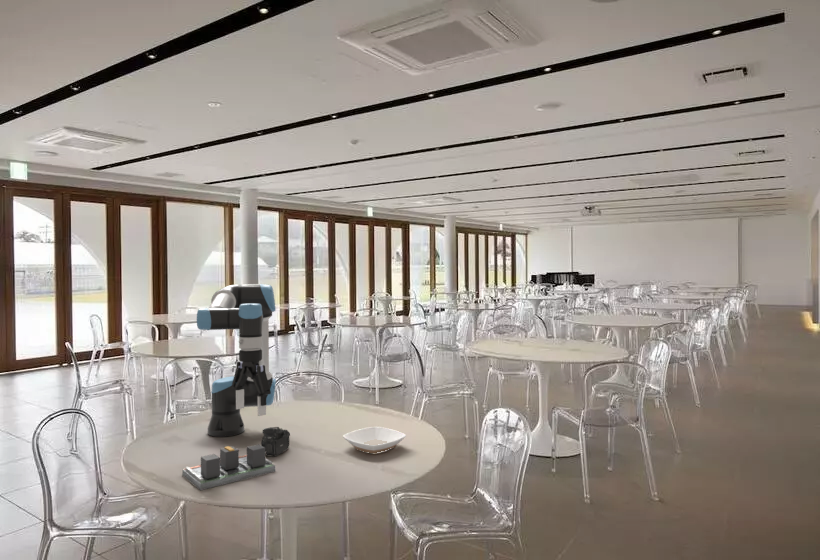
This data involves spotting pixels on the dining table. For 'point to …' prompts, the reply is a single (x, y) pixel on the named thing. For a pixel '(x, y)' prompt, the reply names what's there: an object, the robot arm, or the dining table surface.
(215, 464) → the block
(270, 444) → the camera
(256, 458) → the breaker
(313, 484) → the dining table surface
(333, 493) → the dining table surface
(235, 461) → the block
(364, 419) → the dining table surface
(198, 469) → the panel
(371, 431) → the bowl
